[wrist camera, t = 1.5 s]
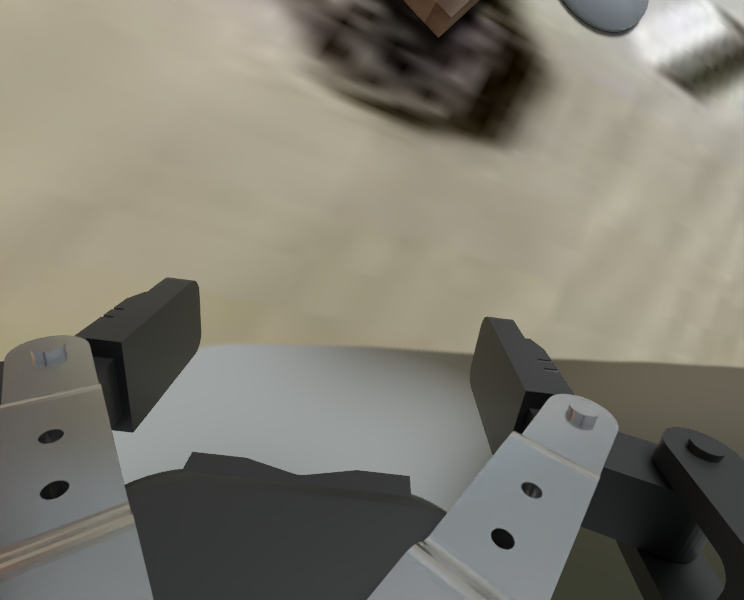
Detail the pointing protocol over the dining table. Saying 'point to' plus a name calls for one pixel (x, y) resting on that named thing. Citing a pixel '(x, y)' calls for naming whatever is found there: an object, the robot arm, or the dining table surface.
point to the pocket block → (440, 12)
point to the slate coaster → (609, 13)
